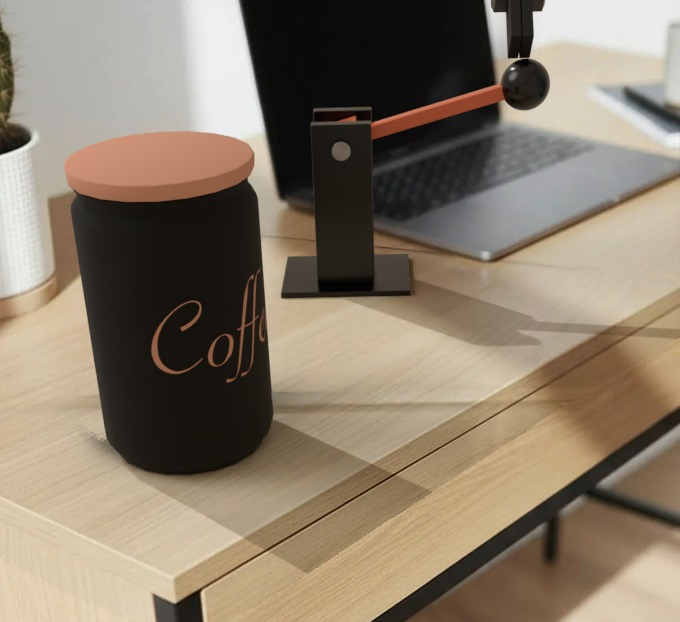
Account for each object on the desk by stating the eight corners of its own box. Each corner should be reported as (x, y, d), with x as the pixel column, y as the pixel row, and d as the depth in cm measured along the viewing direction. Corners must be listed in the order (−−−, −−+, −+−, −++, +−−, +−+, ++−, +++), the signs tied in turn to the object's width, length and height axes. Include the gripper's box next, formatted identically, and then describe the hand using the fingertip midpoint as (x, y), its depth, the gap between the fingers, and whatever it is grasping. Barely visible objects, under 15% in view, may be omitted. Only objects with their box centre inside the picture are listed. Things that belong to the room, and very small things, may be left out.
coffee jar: (169, 500, 70) (130, 199, 61) (75, 438, 77) (27, 158, 68) (308, 438, 76) (293, 154, 67) (209, 385, 83) (182, 120, 73)
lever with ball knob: (551, 95, 90) (541, 47, 88) (557, 107, 87) (547, 58, 85) (332, 161, 93) (318, 116, 91) (330, 175, 90) (316, 128, 88)
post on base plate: (408, 270, 100) (407, 100, 93) (410, 308, 93) (409, 128, 86) (288, 273, 100) (278, 104, 93) (281, 311, 94) (270, 132, 86)
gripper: (587, -194, 95) (603, 74, 90) (421, -188, 96) (427, 79, 91) (604, -274, 88) (622, 12, 83) (424, -267, 88) (431, 18, 83)
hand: (520, 47), depth 87 cm, fingers closed
